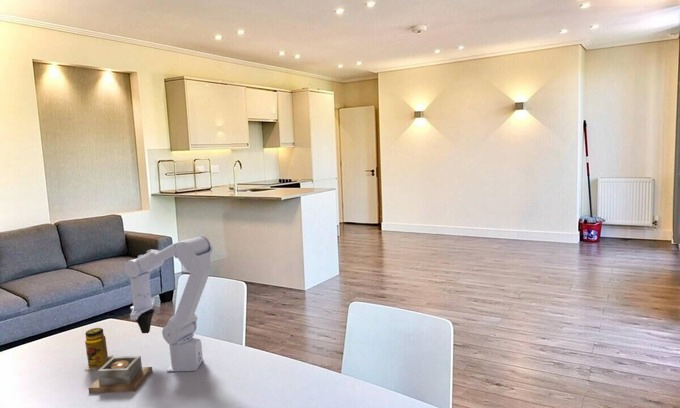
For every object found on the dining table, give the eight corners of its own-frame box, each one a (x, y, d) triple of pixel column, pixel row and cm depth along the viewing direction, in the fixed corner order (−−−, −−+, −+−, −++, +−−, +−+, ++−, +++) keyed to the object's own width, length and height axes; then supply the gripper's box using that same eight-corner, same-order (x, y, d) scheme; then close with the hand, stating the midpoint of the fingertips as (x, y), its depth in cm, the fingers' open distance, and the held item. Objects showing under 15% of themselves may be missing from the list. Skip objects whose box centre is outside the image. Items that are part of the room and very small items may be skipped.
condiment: (85, 371, 155) (80, 336, 153) (90, 359, 163) (85, 326, 161) (109, 366, 157) (105, 332, 155) (113, 356, 165) (109, 323, 163)
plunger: (135, 370, 149) (133, 359, 149) (126, 380, 143) (124, 368, 143) (116, 371, 149) (115, 360, 149) (106, 381, 143) (105, 369, 143)
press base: (152, 371, 152) (150, 353, 151) (135, 391, 140) (133, 372, 139) (109, 372, 153) (107, 355, 152) (88, 392, 141) (86, 373, 140)
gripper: (139, 287, 165) (143, 324, 167) (119, 301, 151) (123, 342, 153) (159, 286, 165) (163, 323, 167) (141, 300, 151) (145, 341, 153)
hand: (145, 332), depth 160 cm, fingers closed
